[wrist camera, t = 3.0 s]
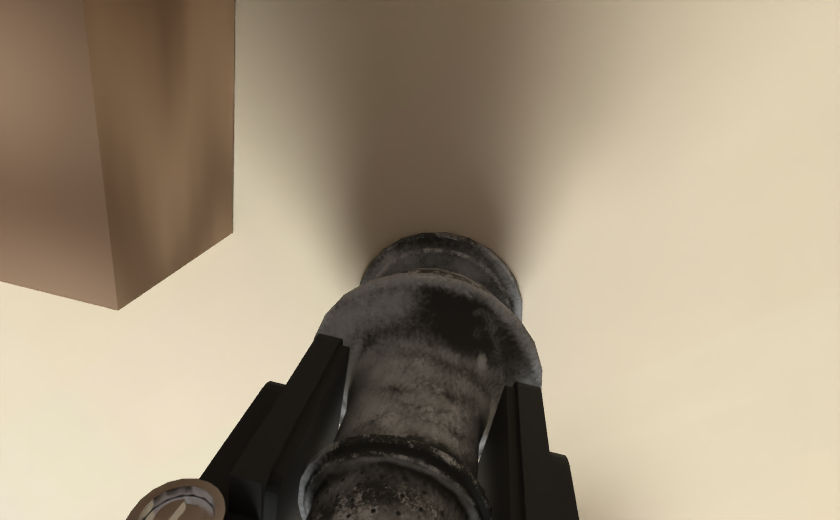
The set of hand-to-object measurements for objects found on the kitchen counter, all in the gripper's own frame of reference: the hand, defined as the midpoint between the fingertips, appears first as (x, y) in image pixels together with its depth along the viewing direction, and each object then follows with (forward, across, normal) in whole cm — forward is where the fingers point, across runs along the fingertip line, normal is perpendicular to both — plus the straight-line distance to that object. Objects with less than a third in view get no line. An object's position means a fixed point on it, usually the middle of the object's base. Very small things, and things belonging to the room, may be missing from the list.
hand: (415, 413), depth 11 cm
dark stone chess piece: (+5, 0, 0) cm, 5 cm away
